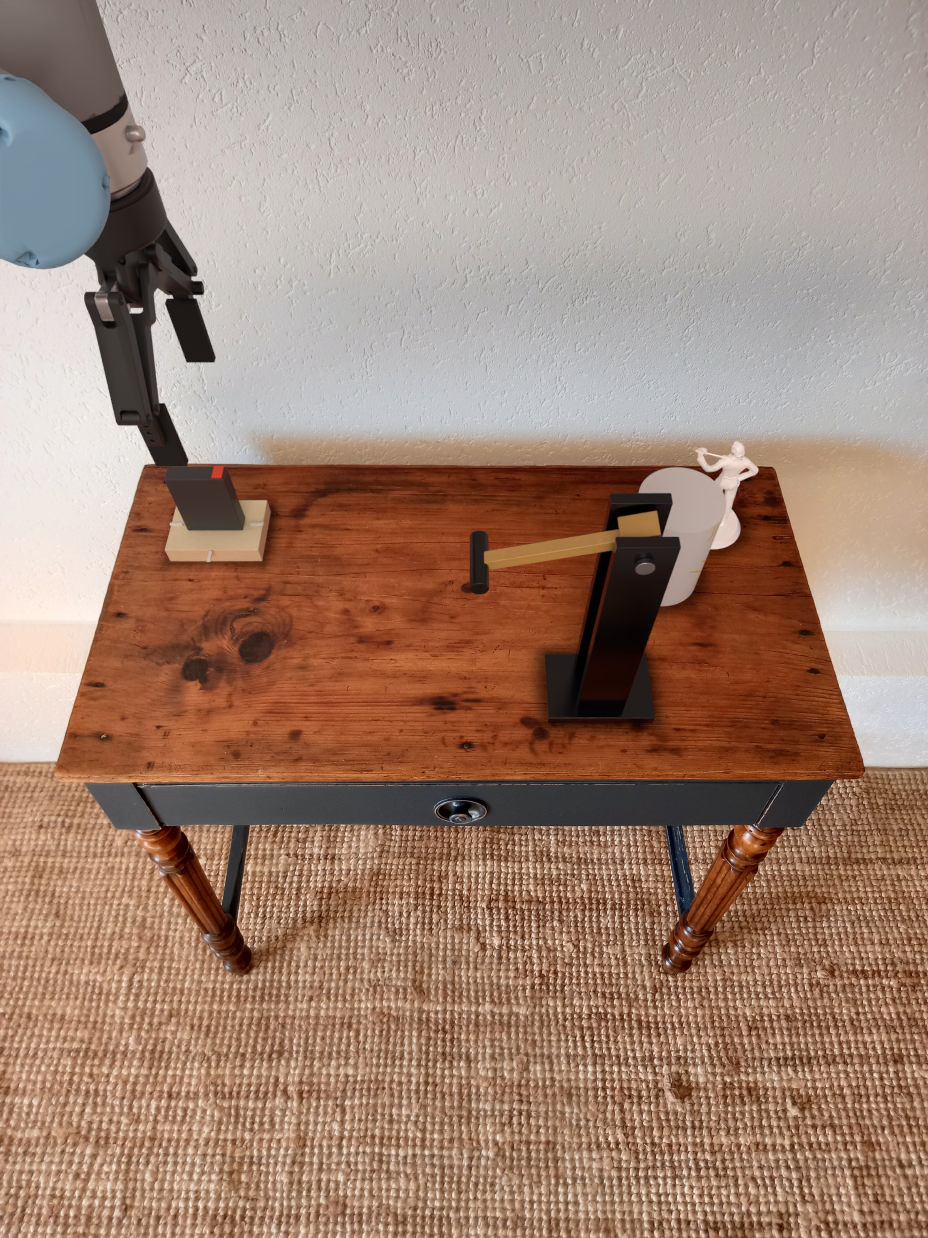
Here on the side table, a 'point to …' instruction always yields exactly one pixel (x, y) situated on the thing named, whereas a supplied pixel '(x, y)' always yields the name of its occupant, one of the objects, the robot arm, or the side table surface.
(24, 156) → the robot arm
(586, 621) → the latch bracket
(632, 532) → the latch lever
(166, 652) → the side table surface
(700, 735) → the side table surface
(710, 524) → the light grey cylinder
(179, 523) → the plate
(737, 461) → the figurine
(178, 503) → the thumbturn
